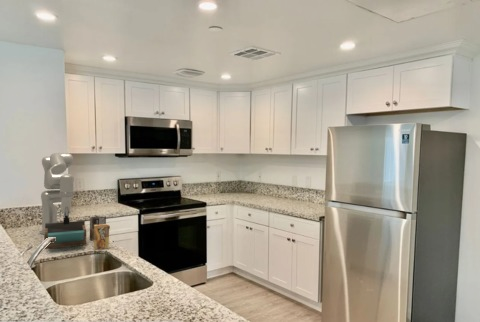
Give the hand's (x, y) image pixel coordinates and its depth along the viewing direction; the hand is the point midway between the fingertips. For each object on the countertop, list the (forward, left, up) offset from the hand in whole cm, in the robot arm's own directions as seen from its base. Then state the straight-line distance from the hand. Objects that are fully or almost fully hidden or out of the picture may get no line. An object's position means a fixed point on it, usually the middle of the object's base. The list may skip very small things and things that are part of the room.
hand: (66, 224), depth 210 cm
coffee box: (-17, +20, -17) cm, 31 cm away
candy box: (+5, +20, -17) cm, 26 cm away
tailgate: (-8, 0, -13) cm, 16 cm away
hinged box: (-16, 0, -16) cm, 23 cm away
